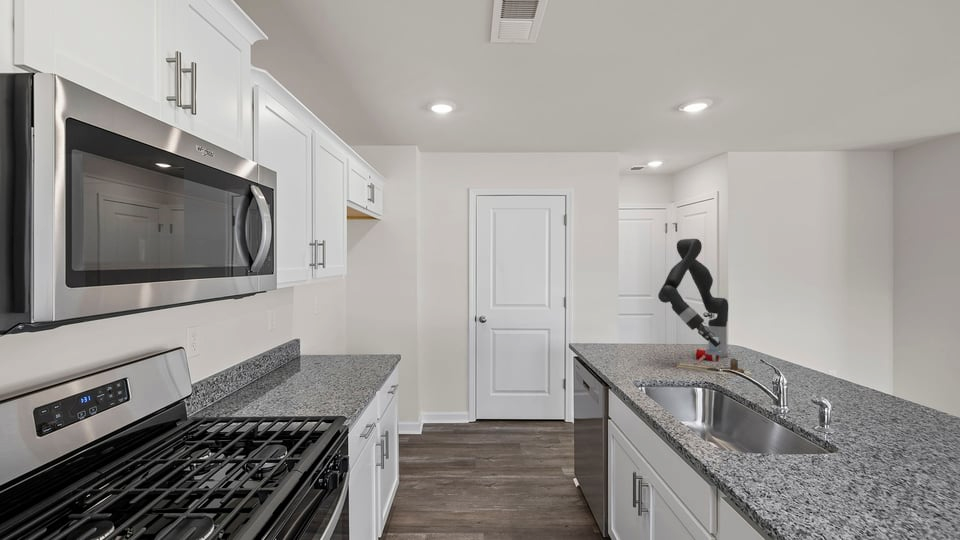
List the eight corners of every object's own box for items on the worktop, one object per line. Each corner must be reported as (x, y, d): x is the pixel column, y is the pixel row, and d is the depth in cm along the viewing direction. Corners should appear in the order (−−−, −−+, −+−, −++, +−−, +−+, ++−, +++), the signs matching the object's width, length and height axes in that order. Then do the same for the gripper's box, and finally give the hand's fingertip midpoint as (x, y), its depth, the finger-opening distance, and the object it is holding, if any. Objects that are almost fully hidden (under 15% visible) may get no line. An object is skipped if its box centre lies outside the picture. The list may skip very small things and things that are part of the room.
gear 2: (725, 369, 214) (725, 355, 214) (744, 371, 209) (745, 358, 209) (723, 372, 208) (723, 358, 208) (743, 375, 203) (743, 361, 203)
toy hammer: (706, 369, 221) (707, 356, 220) (682, 365, 229) (682, 353, 228) (719, 361, 238) (719, 350, 237) (695, 358, 245) (695, 347, 245)
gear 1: (707, 351, 218) (707, 335, 218) (722, 353, 214) (723, 337, 214) (704, 354, 212) (704, 337, 212) (720, 356, 208) (720, 339, 208)
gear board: (680, 365, 228) (680, 362, 228) (750, 373, 210) (750, 370, 210) (674, 370, 218) (674, 367, 218) (747, 379, 200) (747, 376, 200)
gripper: (694, 314, 212) (722, 342, 205) (699, 312, 223) (726, 338, 216) (682, 324, 215) (709, 352, 208) (688, 321, 226) (714, 347, 219)
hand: (718, 345), depth 212 cm, fingers closed on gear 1, 4 cm apart
